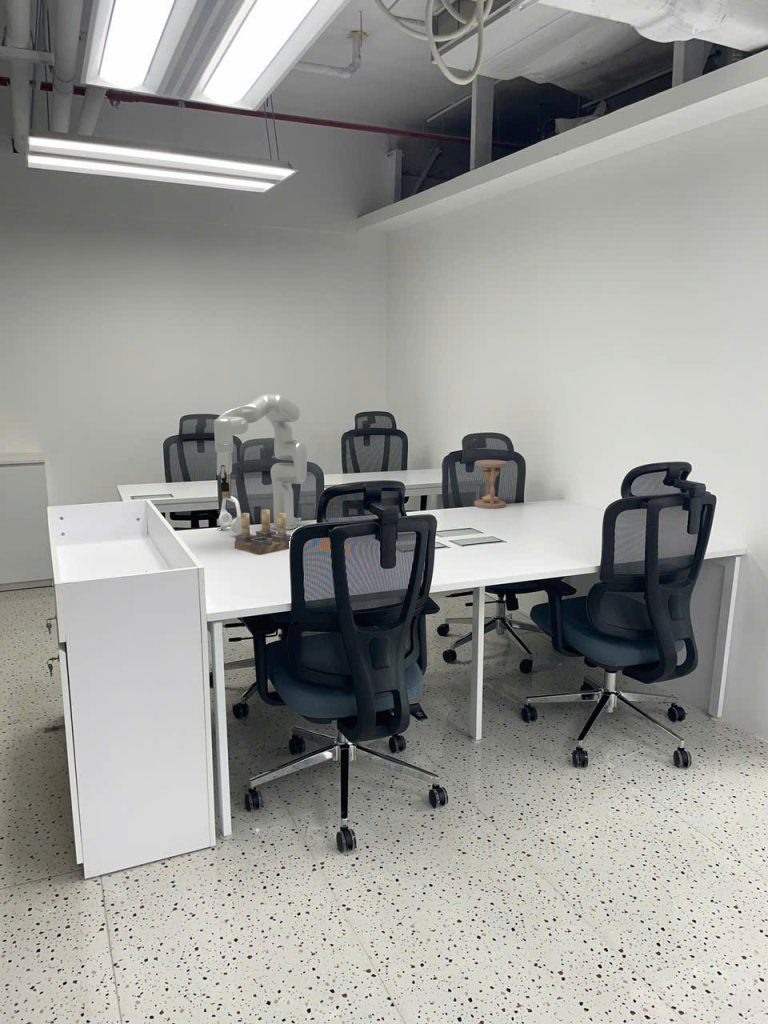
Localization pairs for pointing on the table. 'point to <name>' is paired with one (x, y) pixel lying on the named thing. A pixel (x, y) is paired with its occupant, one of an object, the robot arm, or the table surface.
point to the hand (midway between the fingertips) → (226, 490)
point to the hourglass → (490, 484)
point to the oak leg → (227, 494)
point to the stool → (263, 535)
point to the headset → (230, 517)
